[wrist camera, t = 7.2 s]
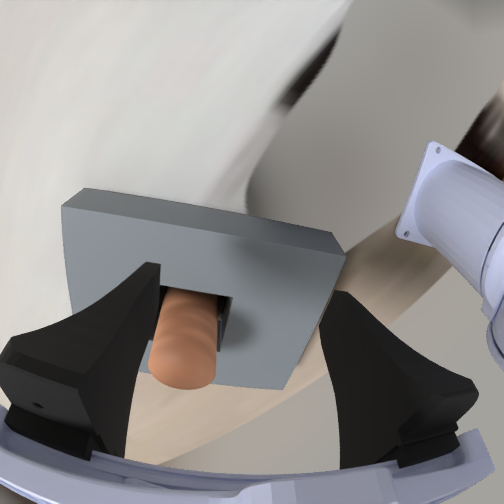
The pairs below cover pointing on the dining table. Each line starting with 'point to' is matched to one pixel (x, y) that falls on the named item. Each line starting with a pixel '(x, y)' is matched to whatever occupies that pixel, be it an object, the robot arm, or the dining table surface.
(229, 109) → the dining table surface
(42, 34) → the dining table surface
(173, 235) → the socket board
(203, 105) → the dining table surface
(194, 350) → the peg
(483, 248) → the robot arm
